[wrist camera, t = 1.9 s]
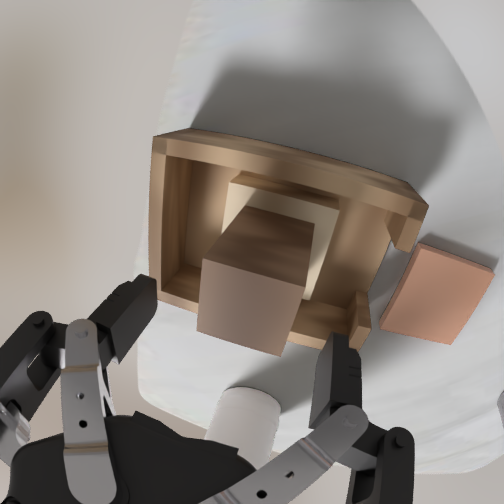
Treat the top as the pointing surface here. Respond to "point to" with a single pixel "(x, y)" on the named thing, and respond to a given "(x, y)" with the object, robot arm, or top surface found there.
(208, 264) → the walnut block
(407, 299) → the terracotta tile
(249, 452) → the bottle
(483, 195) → the top surface
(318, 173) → the oak box
